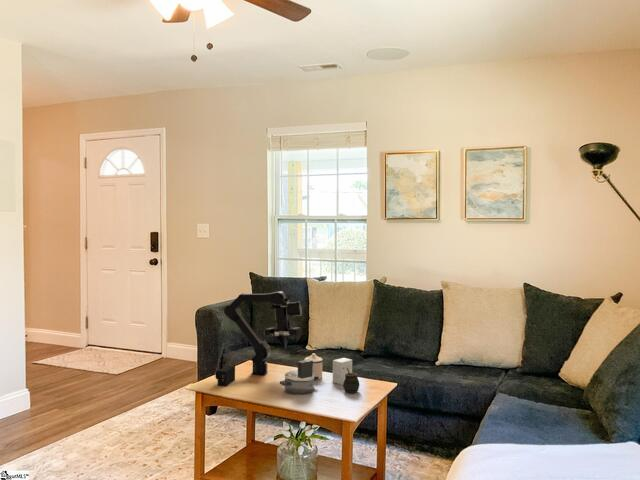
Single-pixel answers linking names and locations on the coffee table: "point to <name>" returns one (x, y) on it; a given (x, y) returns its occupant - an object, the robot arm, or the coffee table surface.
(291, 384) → the pot
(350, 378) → the mate gourd
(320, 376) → the teacup with lid
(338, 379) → the small box
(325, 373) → the coffee table surface
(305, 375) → the lid
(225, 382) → the digital camera
